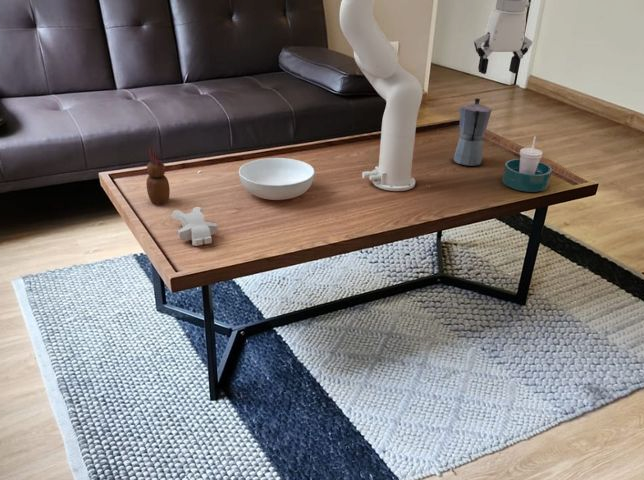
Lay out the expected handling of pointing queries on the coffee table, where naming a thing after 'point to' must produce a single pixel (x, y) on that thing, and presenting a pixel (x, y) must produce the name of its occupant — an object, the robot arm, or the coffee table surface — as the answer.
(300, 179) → the serving bowl
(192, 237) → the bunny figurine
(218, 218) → the coffee table surface
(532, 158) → the smoothie
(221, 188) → the coffee table surface
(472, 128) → the moka pot
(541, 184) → the bowl
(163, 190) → the wooden figurine
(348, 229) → the coffee table surface
